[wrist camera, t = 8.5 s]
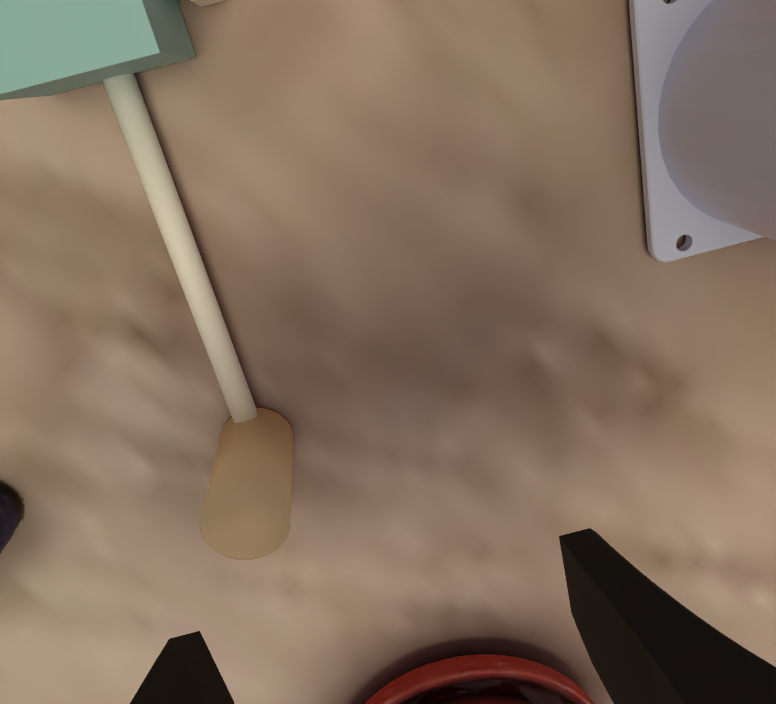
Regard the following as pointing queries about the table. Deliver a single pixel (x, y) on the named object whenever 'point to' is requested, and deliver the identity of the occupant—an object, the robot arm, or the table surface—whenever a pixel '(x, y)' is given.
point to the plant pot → (482, 683)
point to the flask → (9, 513)
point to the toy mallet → (116, 70)
